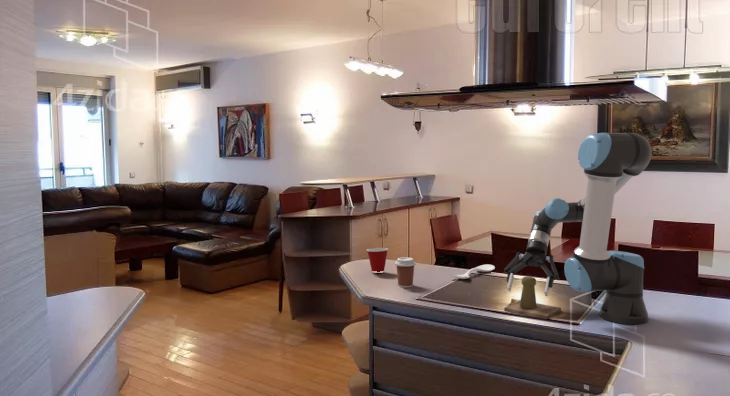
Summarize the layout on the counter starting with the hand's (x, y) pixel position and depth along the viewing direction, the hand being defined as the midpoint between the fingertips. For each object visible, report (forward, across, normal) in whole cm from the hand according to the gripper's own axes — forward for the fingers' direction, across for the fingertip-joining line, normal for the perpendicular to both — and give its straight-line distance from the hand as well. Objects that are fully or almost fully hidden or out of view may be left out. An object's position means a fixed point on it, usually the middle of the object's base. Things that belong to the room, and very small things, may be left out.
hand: (526, 291), depth 200 cm
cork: (+3, 0, -5) cm, 6 cm away
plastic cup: (-15, +80, -25) cm, 85 cm away
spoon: (-27, +37, -38) cm, 59 cm away
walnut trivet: (+5, -2, -5) cm, 7 cm away
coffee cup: (-3, +56, -13) cm, 58 cm away
